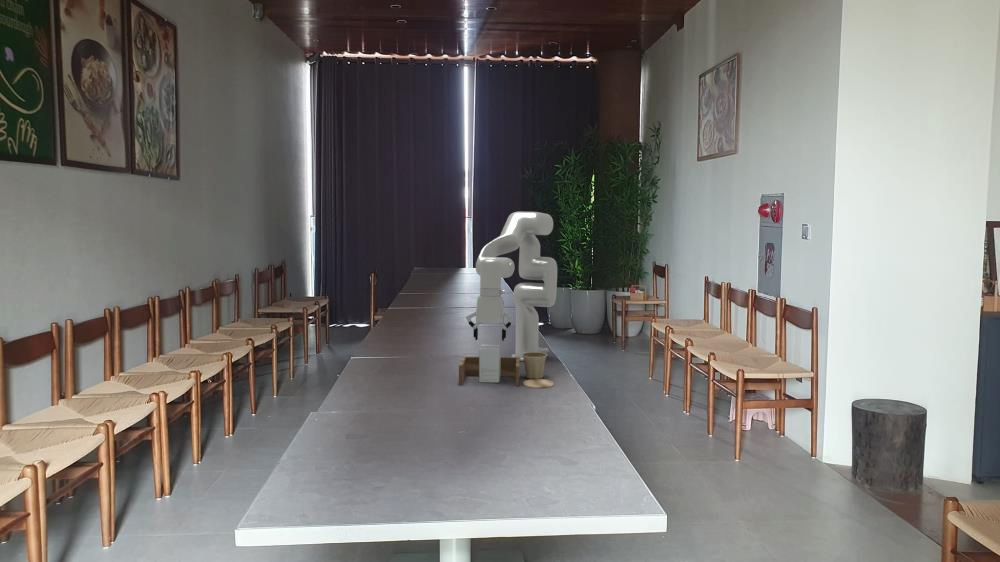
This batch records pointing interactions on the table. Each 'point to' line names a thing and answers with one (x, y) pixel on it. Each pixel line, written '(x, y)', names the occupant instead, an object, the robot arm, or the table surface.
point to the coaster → (538, 383)
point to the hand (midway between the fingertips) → (489, 339)
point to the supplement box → (489, 363)
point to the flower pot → (534, 364)
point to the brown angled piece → (471, 367)
